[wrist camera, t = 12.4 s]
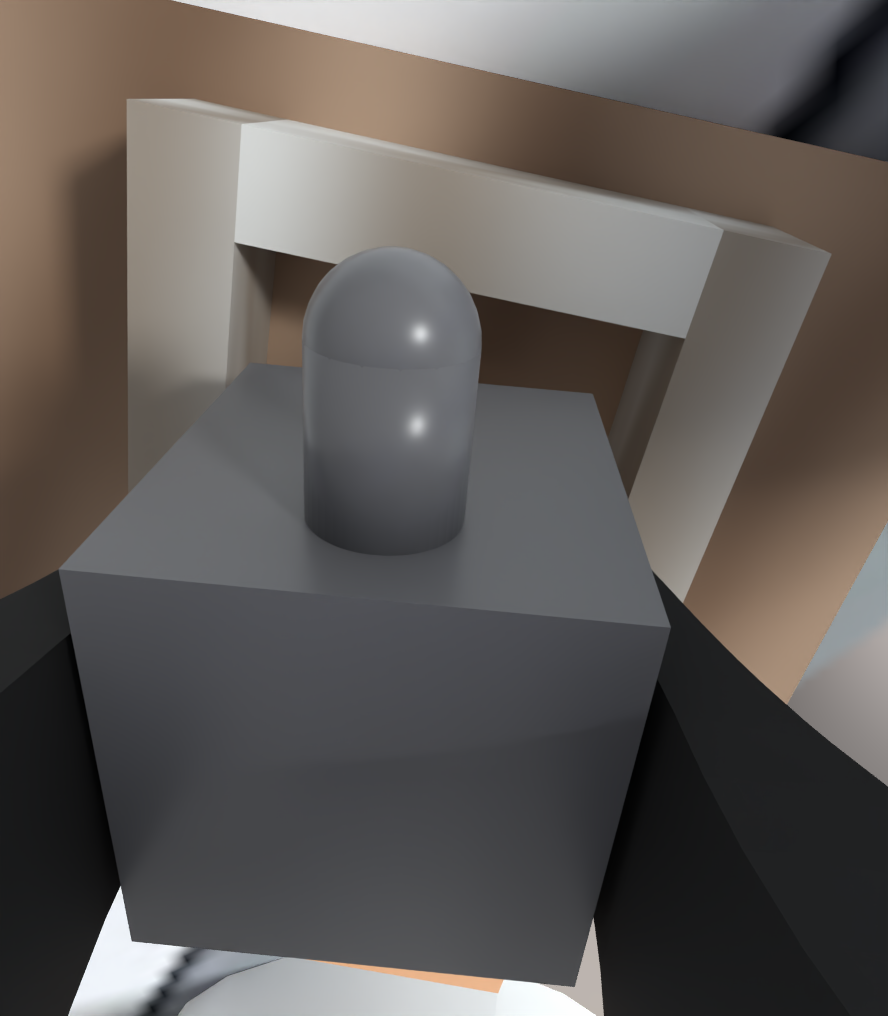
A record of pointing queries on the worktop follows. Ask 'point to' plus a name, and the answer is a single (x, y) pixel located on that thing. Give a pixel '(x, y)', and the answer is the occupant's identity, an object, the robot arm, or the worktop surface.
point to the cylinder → (366, 995)
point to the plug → (372, 652)
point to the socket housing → (469, 255)
